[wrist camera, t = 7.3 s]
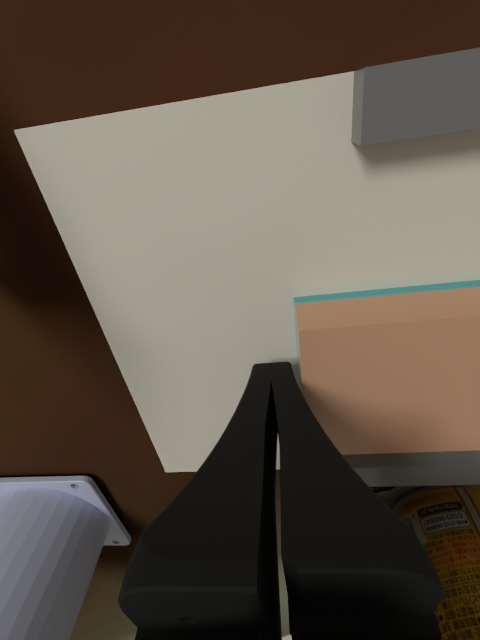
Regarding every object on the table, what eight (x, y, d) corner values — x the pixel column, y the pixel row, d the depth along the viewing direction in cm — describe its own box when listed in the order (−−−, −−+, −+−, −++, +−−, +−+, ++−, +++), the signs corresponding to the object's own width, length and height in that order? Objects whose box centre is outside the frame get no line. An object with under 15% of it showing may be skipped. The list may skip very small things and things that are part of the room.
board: (169, 458, 18) (160, 490, 17) (30, 128, 10) (-12, 132, 8) (525, 447, 16) (553, 483, 14) (760, 2, 7) (885, -23, 6)
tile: (305, 455, 13) (501, 449, 12) (298, 330, 10) (565, 309, 9) (300, 415, 15) (471, 407, 14) (293, 297, 11) (516, 276, 10)
